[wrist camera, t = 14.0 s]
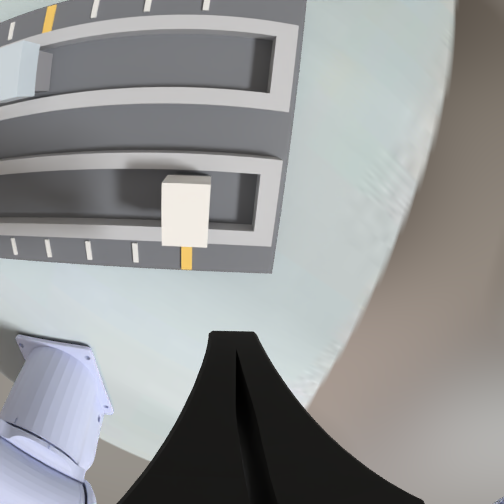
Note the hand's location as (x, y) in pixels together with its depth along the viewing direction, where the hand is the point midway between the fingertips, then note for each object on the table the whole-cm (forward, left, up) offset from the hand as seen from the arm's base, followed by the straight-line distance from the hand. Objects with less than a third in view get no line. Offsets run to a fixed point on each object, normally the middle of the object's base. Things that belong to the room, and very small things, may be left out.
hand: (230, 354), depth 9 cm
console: (+6, +8, -10) cm, 14 cm away
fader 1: (+9, +11, -9) cm, 17 cm away
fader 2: (+2, +2, -9) cm, 9 cm away
